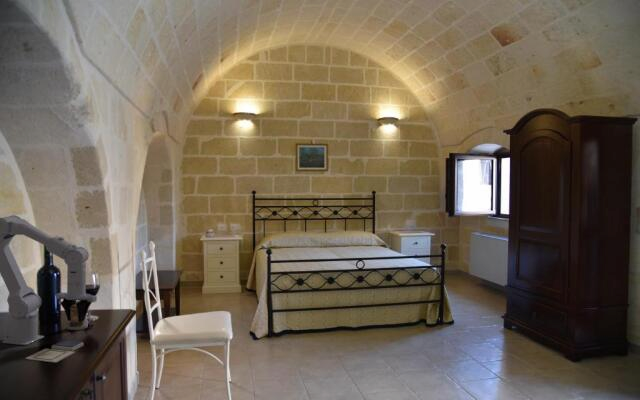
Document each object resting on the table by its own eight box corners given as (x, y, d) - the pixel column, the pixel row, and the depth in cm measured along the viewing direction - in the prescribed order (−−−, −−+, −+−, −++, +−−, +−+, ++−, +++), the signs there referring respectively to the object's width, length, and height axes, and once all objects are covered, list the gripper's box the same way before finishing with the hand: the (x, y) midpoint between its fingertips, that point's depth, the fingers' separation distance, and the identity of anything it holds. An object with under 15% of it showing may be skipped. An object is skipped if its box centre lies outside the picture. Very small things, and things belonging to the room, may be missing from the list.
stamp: (66, 326, 152) (66, 307, 152) (75, 322, 156) (75, 303, 156) (77, 327, 151) (77, 308, 151) (86, 323, 155) (86, 304, 155)
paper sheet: (25, 359, 137) (25, 357, 137) (45, 349, 145) (45, 348, 145) (55, 362, 135) (55, 361, 135) (74, 352, 143) (74, 351, 143)
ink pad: (51, 348, 145) (51, 344, 145) (62, 343, 150) (62, 339, 150) (72, 351, 144) (72, 347, 144) (83, 345, 149) (83, 341, 149)
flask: (79, 331, 162) (80, 305, 161) (63, 329, 163) (63, 303, 163) (93, 325, 169) (93, 300, 169) (77, 323, 170) (77, 298, 170)
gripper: (49, 283, 150) (49, 322, 151) (86, 286, 148) (86, 326, 148) (64, 279, 157) (64, 315, 158) (100, 282, 155) (100, 319, 155)
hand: (76, 320), depth 154 cm, fingers closed on stamp, 4 cm apart
